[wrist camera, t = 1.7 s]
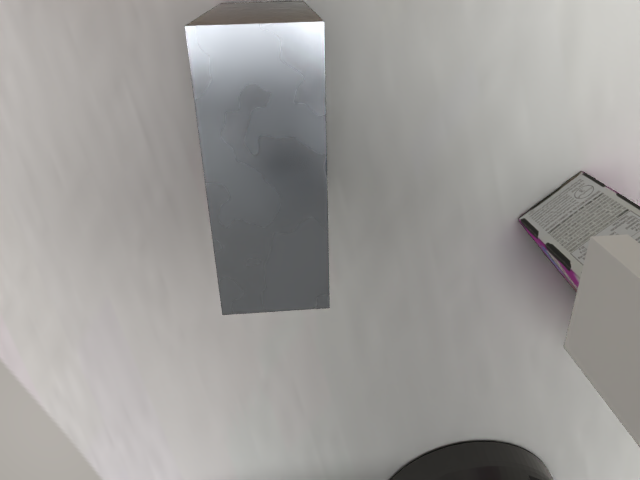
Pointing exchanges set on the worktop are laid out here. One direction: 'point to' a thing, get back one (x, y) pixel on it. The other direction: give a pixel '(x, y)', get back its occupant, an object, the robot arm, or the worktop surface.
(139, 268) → the worktop surface
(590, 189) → the candy bar box
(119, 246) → the worktop surface
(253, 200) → the panel
